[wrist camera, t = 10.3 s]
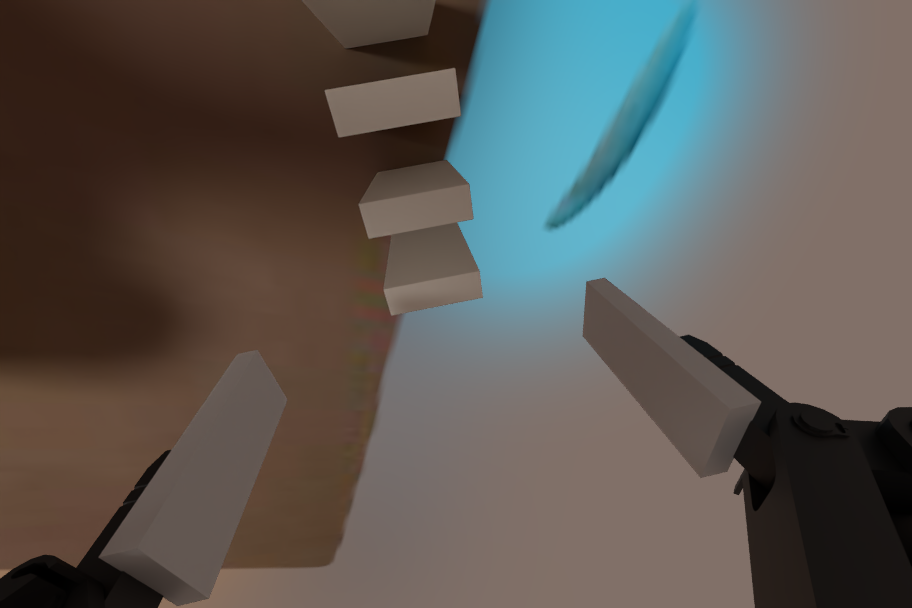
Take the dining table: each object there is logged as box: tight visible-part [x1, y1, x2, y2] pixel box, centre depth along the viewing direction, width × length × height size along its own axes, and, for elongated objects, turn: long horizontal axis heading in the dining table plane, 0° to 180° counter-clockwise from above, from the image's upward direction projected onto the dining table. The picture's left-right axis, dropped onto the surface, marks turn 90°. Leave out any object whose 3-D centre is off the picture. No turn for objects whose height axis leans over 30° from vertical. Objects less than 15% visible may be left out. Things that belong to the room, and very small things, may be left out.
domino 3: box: [358, 160, 473, 239], centre depth 19 cm, size 2×5×10 cm, turn 99°
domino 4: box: [383, 222, 483, 316], centre depth 21 cm, size 2×5×10 cm, turn 99°
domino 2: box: [324, 68, 461, 137], centre depth 17 cm, size 2×5×10 cm, turn 99°
